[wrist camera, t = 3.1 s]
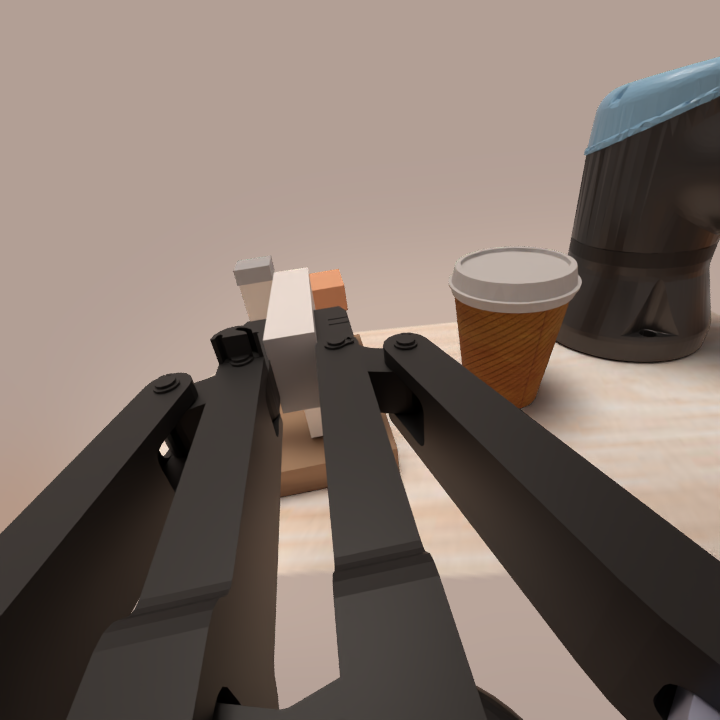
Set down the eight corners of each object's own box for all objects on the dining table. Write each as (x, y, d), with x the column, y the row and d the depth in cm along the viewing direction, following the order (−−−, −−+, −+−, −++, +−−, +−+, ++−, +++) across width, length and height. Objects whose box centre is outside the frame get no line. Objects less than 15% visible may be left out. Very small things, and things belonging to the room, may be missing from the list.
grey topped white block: (292, 357, 38) (269, 265, 33) (261, 363, 38) (233, 270, 32) (292, 343, 41) (270, 255, 35) (263, 348, 40) (237, 260, 35)
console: (399, 472, 27) (396, 438, 25) (237, 505, 26) (222, 473, 25) (361, 353, 42) (358, 326, 41) (258, 371, 42) (249, 345, 40)
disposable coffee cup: (447, 360, 39) (448, 248, 33) (544, 361, 37) (565, 241, 31) (446, 421, 31) (448, 289, 25) (569, 426, 29) (606, 283, 23)
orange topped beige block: (365, 428, 28) (344, 285, 22) (310, 439, 27) (273, 297, 21) (358, 402, 30) (338, 269, 24) (308, 412, 30) (275, 279, 24)
